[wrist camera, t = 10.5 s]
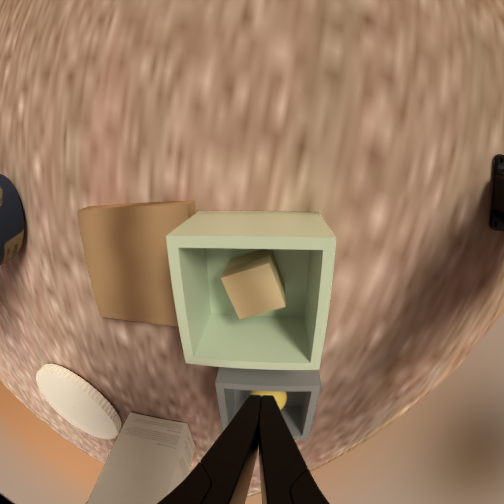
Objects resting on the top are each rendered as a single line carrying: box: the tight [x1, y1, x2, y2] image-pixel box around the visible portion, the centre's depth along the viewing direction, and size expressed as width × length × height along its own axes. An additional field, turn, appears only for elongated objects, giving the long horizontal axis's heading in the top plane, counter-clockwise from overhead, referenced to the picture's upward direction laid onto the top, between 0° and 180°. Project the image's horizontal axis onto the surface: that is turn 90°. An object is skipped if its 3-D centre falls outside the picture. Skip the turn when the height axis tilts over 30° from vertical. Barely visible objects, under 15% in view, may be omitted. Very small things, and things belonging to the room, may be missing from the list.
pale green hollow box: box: [166, 211, 336, 370], centre depth 17 cm, size 8×8×6 cm
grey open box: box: [215, 367, 321, 439], centre depth 21 cm, size 8×8×4 cm
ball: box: [249, 390, 287, 410], centre depth 21 cm, size 3×3×3 cm
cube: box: [221, 249, 286, 319], centre depth 18 cm, size 3×3×3 cm
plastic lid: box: [36, 363, 122, 439], centre depth 28 cm, size 14×14×2 cm
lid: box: [78, 201, 195, 327], centre depth 20 cm, size 9×9×2 cm
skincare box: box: [86, 412, 195, 504], centre depth 21 cm, size 8×7×16 cm
